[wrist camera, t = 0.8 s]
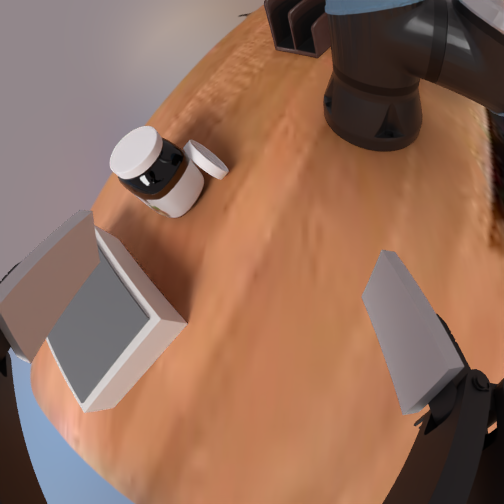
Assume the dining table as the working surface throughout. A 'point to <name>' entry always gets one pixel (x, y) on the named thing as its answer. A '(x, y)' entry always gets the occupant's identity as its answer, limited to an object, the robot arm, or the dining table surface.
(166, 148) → the spread jar
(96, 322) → the riser
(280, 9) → the letter holder
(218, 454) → the dining table surface
